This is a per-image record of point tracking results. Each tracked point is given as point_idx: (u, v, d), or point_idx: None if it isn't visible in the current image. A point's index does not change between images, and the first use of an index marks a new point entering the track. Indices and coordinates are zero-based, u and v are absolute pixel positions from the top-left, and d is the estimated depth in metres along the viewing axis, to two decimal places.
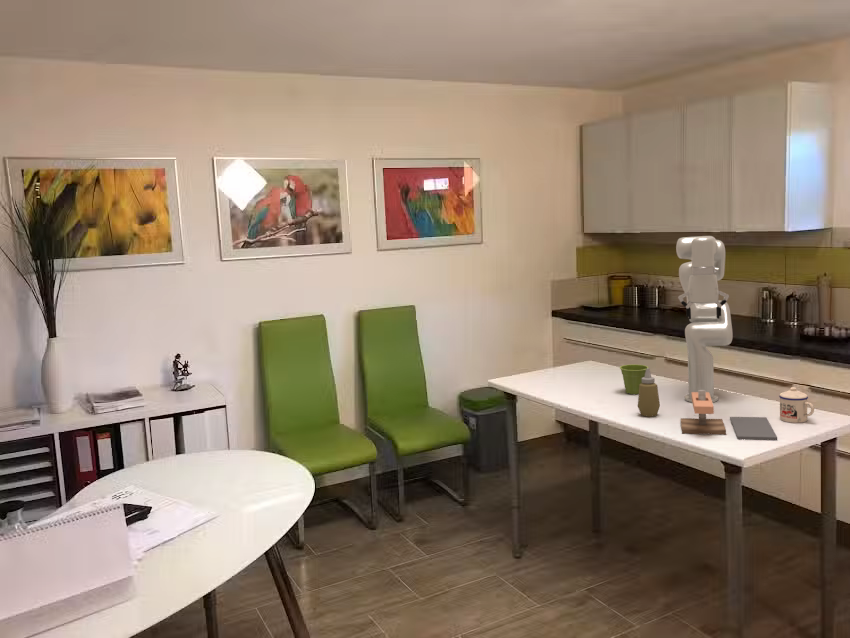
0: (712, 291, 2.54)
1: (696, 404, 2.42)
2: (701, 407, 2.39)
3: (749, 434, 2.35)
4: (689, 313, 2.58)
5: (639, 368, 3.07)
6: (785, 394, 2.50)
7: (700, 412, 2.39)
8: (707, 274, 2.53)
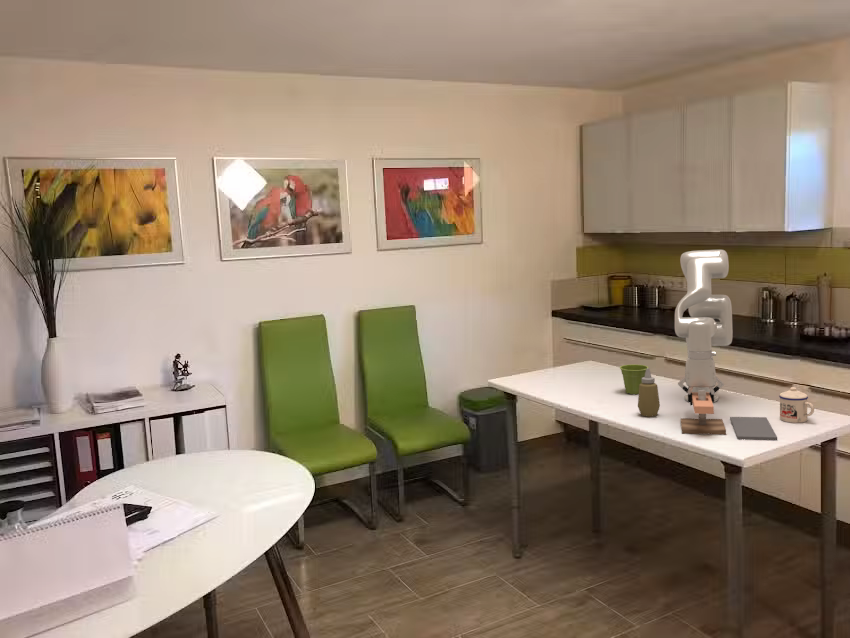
0: (709, 376, 2.50)
1: (696, 404, 2.42)
2: (701, 407, 2.39)
3: (749, 434, 2.35)
4: (691, 399, 2.54)
5: (639, 368, 3.07)
6: (785, 394, 2.50)
7: (700, 412, 2.39)
8: (704, 359, 2.49)
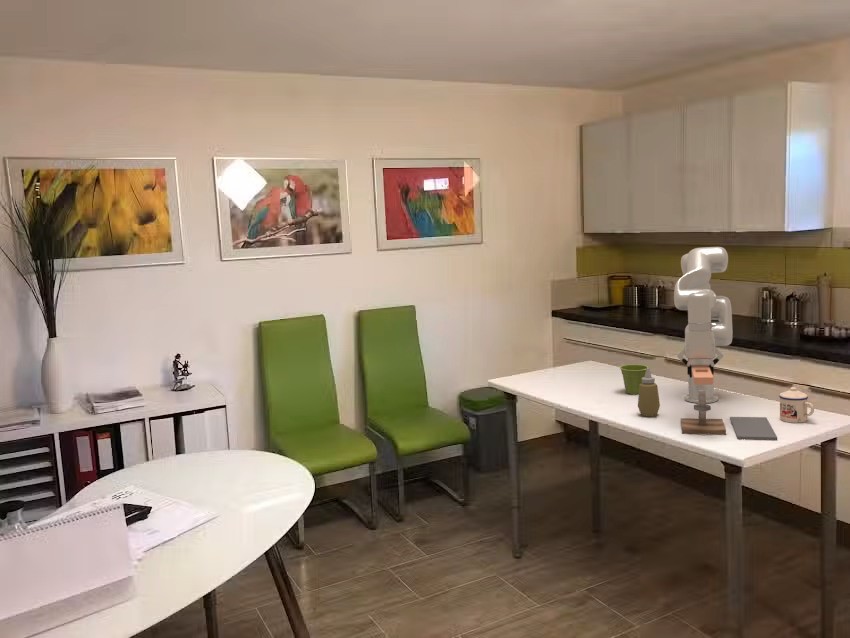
0: (709, 347, 2.49)
1: (695, 375, 2.40)
2: (700, 378, 2.38)
3: (749, 434, 2.35)
4: (690, 371, 2.53)
5: (639, 368, 3.07)
6: (785, 394, 2.50)
7: (699, 383, 2.38)
8: (704, 330, 2.48)
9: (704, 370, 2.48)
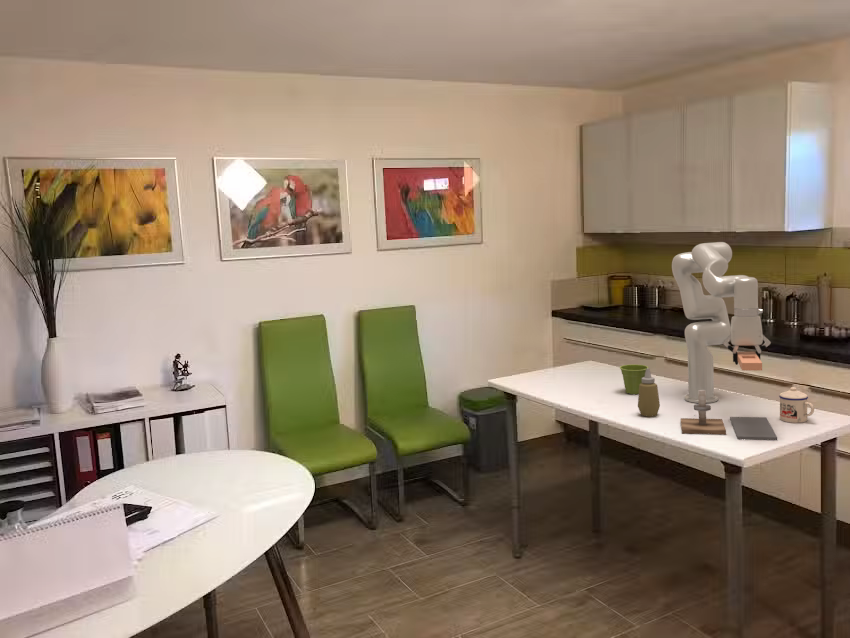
0: (756, 334, 2.44)
1: (743, 361, 2.35)
2: (749, 364, 2.32)
3: (749, 434, 2.35)
4: (736, 358, 2.48)
5: (639, 368, 3.07)
6: (785, 394, 2.50)
7: (748, 369, 2.32)
8: (751, 316, 2.42)
9: (751, 357, 2.43)
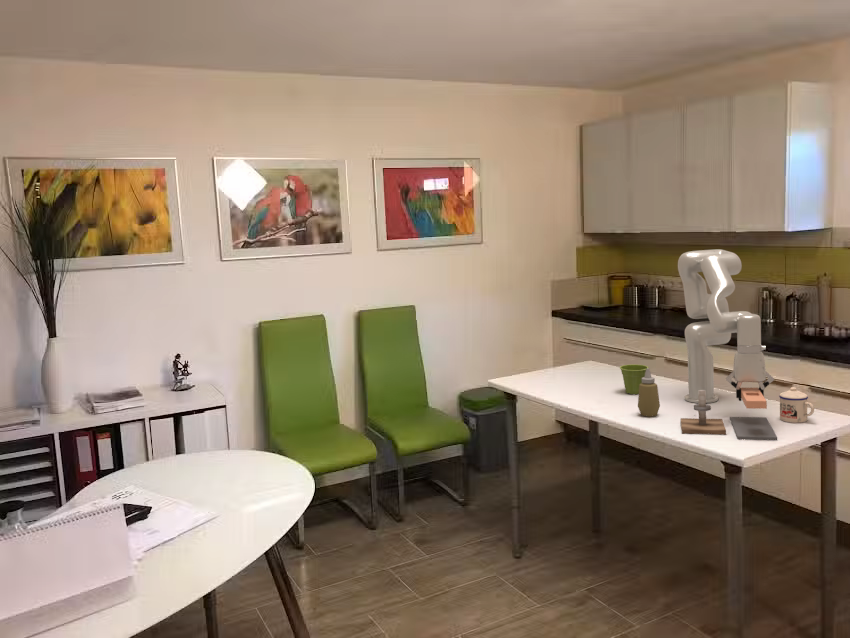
0: (759, 370, 2.45)
1: (748, 399, 2.36)
2: (753, 402, 2.33)
3: (749, 434, 2.35)
4: (739, 394, 2.49)
5: (639, 368, 3.07)
6: (785, 394, 2.50)
7: (752, 407, 2.34)
8: (754, 353, 2.44)
9: (755, 393, 2.44)
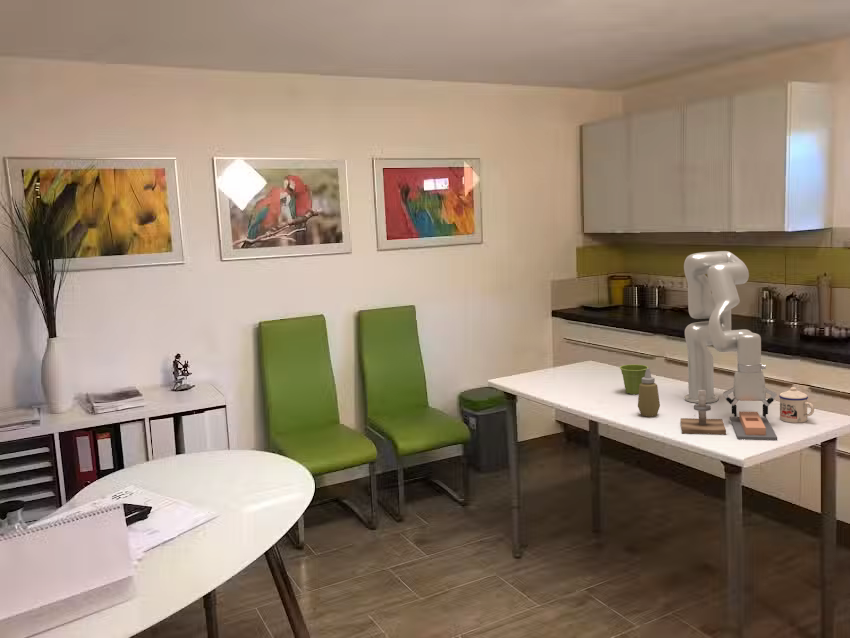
0: (759, 389, 2.46)
1: (747, 425, 2.38)
2: (753, 428, 2.35)
3: None
4: (735, 410, 2.50)
5: (639, 368, 3.07)
6: (785, 394, 2.50)
7: (751, 433, 2.35)
8: (754, 372, 2.45)
9: (754, 418, 2.46)
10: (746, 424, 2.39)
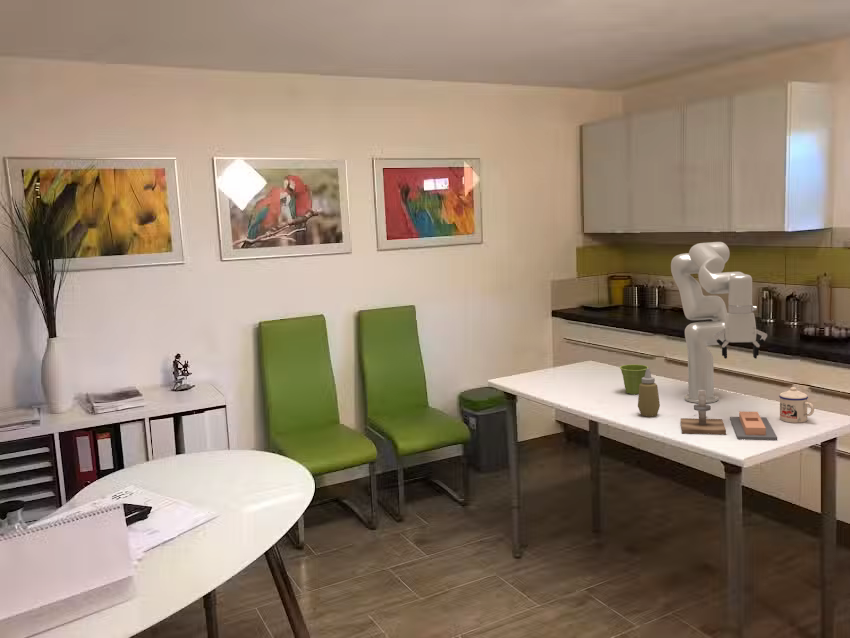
0: (750, 330, 2.46)
1: (747, 425, 2.38)
2: (753, 428, 2.35)
3: None
4: (725, 352, 2.50)
5: (639, 368, 3.07)
6: (785, 394, 2.50)
7: (751, 433, 2.35)
8: (745, 313, 2.44)
9: (754, 418, 2.46)
10: (746, 424, 2.39)
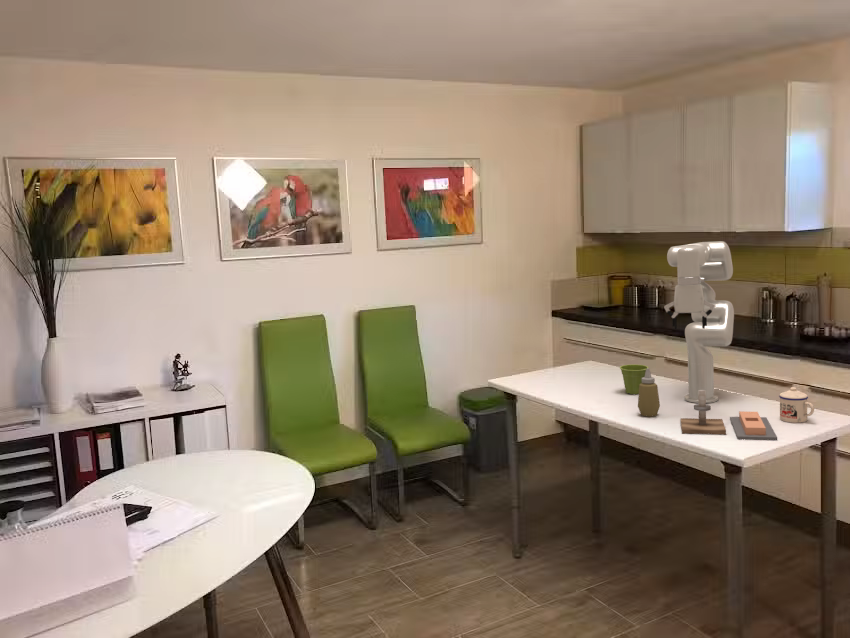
0: (698, 301, 2.56)
1: (747, 425, 2.38)
2: (753, 428, 2.35)
3: None
4: (675, 323, 2.60)
5: (639, 368, 3.07)
6: (785, 394, 2.50)
7: (751, 433, 2.35)
8: (692, 284, 2.54)
9: (754, 418, 2.46)
10: (746, 424, 2.39)
